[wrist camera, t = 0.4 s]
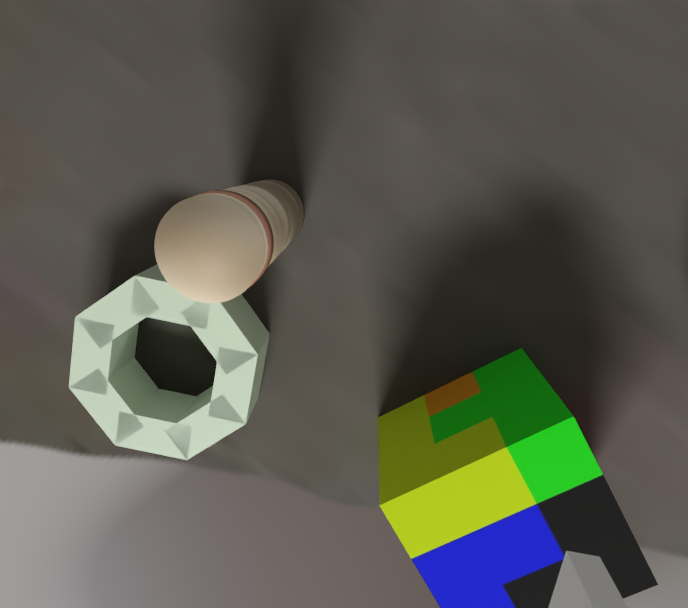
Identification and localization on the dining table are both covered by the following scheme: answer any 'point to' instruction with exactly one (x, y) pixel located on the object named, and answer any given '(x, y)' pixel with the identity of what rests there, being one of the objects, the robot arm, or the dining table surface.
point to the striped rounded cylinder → (226, 238)
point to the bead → (137, 387)
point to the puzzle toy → (499, 491)
